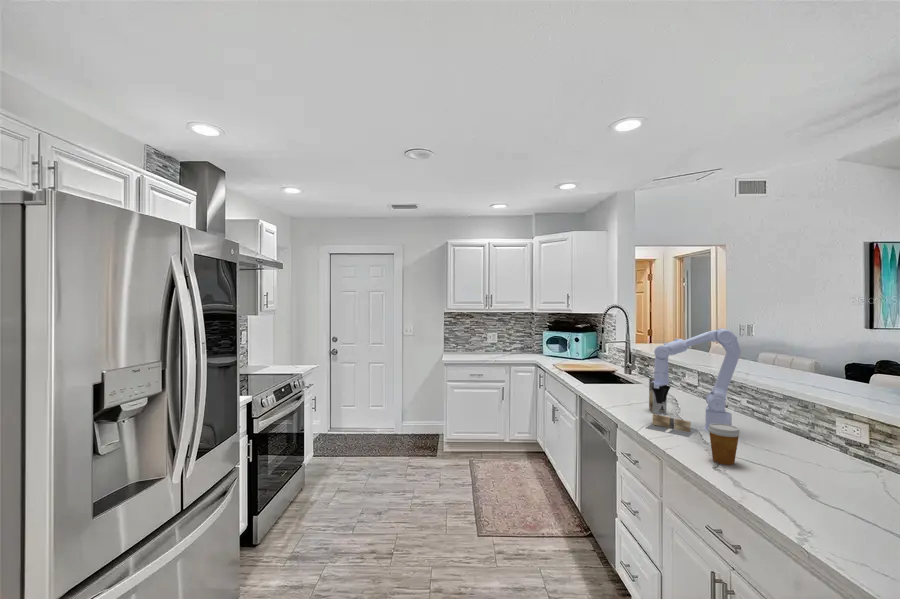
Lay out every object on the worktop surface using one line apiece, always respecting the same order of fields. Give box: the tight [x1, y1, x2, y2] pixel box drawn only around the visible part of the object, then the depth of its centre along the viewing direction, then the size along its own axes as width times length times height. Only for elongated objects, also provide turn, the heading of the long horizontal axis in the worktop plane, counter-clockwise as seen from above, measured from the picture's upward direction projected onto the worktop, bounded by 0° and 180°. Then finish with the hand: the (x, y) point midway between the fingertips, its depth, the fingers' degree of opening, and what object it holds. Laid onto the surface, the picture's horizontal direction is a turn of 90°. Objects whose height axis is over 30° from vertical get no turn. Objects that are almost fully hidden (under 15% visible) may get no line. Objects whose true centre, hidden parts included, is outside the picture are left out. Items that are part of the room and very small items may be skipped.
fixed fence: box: [674, 418, 692, 432], centre depth 182 cm, size 6×1×4 cm, turn 48°
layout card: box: [645, 422, 699, 438], centre depth 184 cm, size 17×15×1 cm
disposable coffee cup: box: [708, 423, 741, 466], centre depth 148 cm, size 10×10×12 cm
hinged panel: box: [652, 413, 675, 428], centre depth 187 cm, size 8×2×4 cm, turn 48°
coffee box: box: [648, 378, 668, 416], centre depth 215 cm, size 9×6×16 cm
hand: (661, 402), depth 193 cm, fingers open, 4 cm apart
